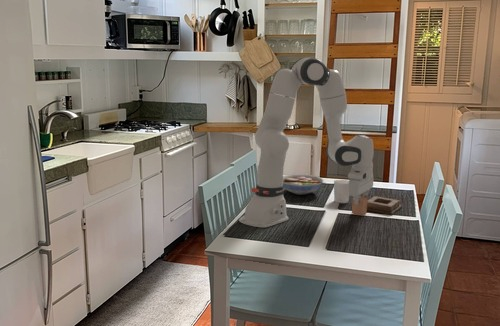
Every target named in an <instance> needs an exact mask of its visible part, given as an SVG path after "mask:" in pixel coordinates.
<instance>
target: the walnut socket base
mask: <svg viewBox="0 0 500 326" xmlns="http://www.w3.org/2000/svg"><path fill="white" fill-rule="evenodd" d="M402 208H403V205H402V204H400V200H399V199H394V198H387V197H382V196H376V195H375V196H373V197H371V198H369V199H367V212H368V211H369V212H375V213H380V214H385V215H390V216H393V215H395V213H397V212H398V211H400V210H401V209H402Z"/></svg>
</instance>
